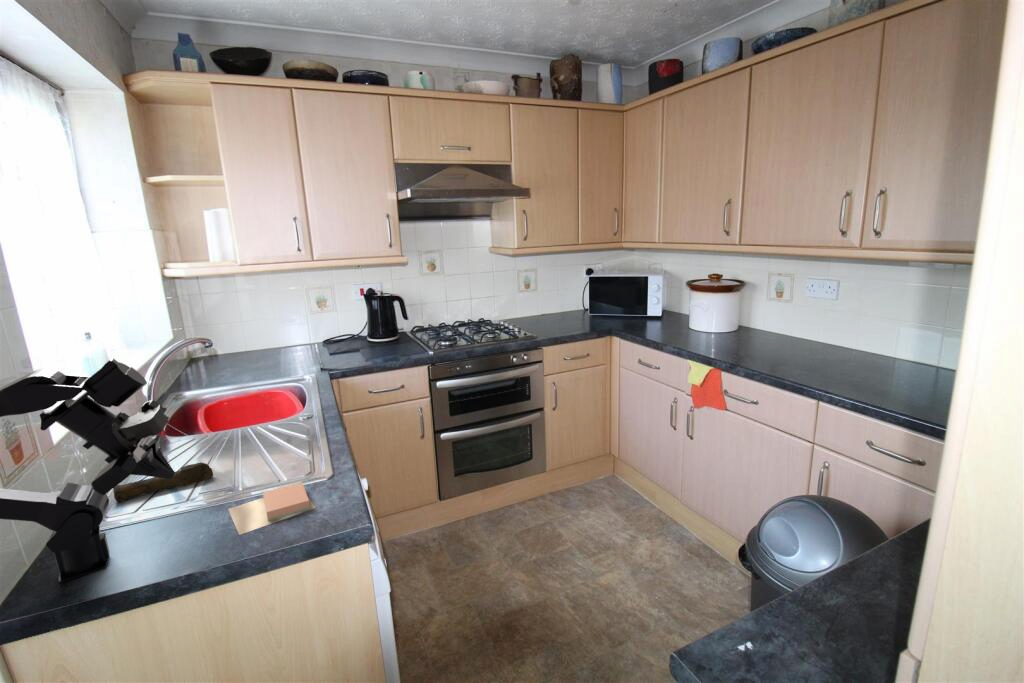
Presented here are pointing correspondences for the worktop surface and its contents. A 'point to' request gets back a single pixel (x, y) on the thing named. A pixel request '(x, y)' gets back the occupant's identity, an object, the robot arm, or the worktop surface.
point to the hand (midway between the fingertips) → (172, 476)
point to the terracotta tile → (286, 501)
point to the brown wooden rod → (164, 482)
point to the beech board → (255, 515)
